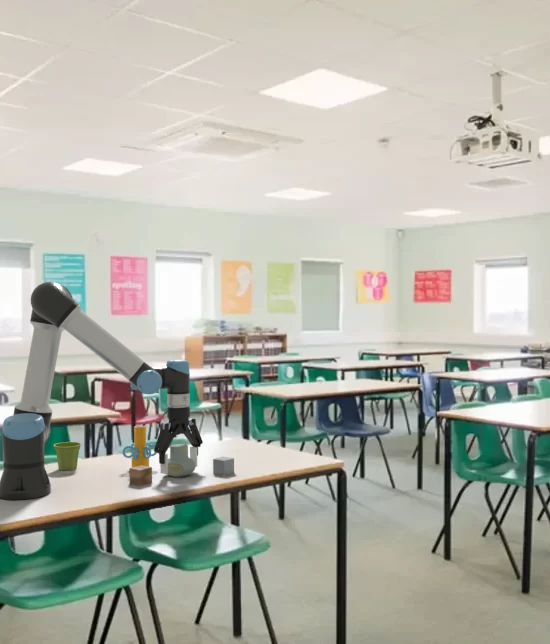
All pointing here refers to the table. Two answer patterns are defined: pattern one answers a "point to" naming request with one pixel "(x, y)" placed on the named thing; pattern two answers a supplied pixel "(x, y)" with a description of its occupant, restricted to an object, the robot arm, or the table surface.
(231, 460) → the grey block
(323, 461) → the table surface
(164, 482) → the table surface
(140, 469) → the walnut block
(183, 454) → the air freshener
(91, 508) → the table surface
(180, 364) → the robot arm
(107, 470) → the table surface
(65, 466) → the plant pot
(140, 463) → the cylinder
